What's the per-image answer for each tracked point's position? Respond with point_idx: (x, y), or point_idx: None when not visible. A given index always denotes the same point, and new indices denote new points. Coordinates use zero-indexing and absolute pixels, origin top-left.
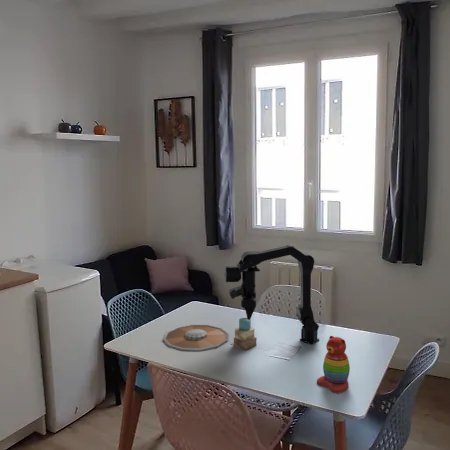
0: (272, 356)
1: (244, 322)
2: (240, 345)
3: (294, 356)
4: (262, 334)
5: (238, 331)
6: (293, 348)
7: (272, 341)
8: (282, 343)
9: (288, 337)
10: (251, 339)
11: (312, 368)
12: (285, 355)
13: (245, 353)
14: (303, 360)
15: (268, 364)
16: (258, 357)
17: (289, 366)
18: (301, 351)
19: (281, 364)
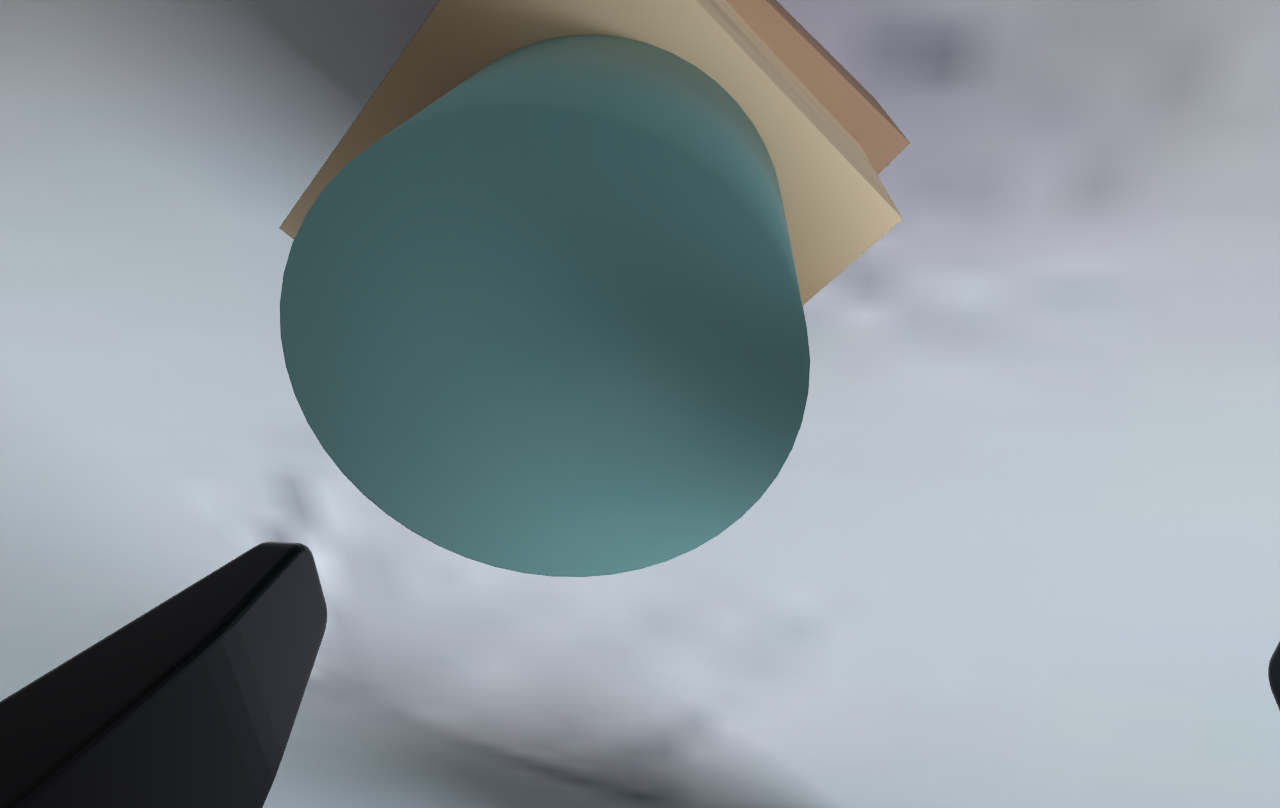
0: (293, 515)
1: (293, 347)
2: None
3: (364, 718)
4: (1178, 442)
5: (443, 10)
6: (594, 738)
7: (834, 557)
8: (753, 658)
9: (965, 738)
10: None
11: None
12: (368, 647)
13: (284, 128)
14: (286, 770)
15: (27, 452)
16: (197, 339)
17: (82, 648)
18: (518, 788)
19: (97, 584)
